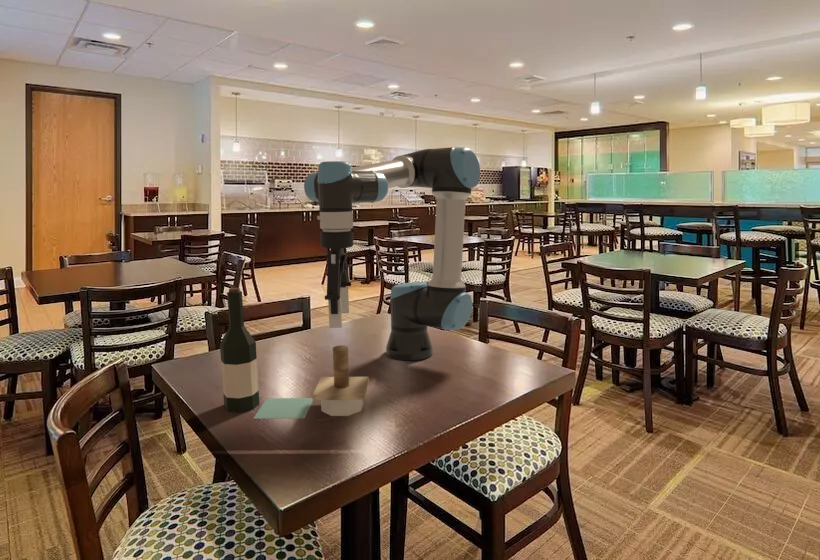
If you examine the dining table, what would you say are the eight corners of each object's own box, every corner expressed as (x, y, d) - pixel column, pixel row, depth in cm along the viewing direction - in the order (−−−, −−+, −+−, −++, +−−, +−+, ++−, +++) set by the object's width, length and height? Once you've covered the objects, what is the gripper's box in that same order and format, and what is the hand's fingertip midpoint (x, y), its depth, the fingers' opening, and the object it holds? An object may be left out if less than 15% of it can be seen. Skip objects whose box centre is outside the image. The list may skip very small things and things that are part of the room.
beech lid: (368, 381, 136) (367, 340, 134) (364, 399, 124) (363, 355, 122) (321, 381, 136) (319, 340, 134) (312, 400, 124) (310, 355, 122)
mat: (314, 400, 137) (314, 397, 137) (304, 420, 125) (304, 418, 125) (267, 400, 137) (267, 398, 137) (253, 420, 125) (253, 418, 125)
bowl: (363, 401, 136) (363, 382, 135) (360, 418, 126) (359, 397, 125) (325, 402, 136) (325, 383, 135) (319, 418, 126) (318, 398, 125)
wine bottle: (244, 398, 138) (237, 284, 133) (266, 405, 134) (259, 287, 128) (217, 409, 131) (208, 289, 126) (239, 417, 127) (230, 293, 122)
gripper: (328, 226, 136) (331, 307, 139) (309, 235, 111) (314, 334, 115) (358, 225, 135) (360, 307, 139) (346, 235, 111) (349, 334, 115)
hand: (339, 320), depth 127 cm, fingers open, 13 cm apart
